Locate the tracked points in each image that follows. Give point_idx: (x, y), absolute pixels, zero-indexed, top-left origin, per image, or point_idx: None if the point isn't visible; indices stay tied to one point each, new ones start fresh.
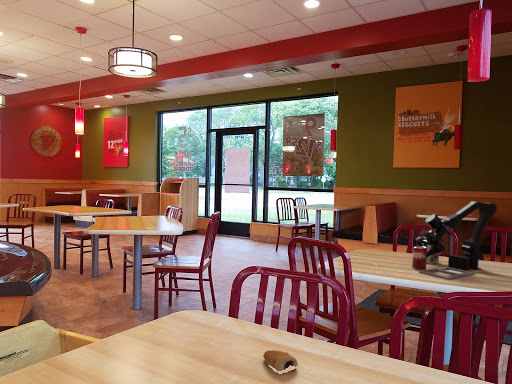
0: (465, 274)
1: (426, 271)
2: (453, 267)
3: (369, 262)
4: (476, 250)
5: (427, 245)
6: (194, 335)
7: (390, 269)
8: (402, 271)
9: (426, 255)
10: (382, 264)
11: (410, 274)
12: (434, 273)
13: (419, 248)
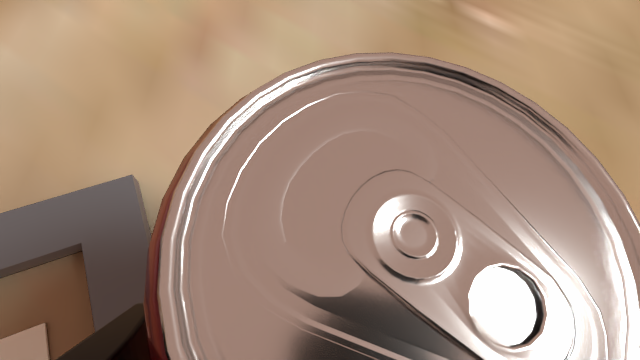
0: None
1: (92, 257)
2: None
3: (547, 11)
4: None
5: None
6: None
7: (307, 22)
8: (226, 67)
9: (126, 320)
10: (492, 60)
11: (108, 66)
12: (29, 354)
13: (241, 104)
